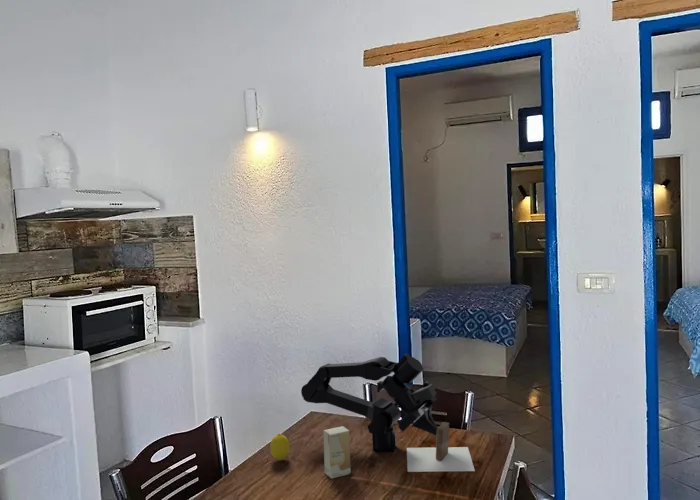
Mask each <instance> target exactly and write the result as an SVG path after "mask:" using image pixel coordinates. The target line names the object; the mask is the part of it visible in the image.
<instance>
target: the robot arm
mask: <svg viewBox="0 0 700 500" xmlns="http://www.w3.org/2000/svg"><path fill="white" fill-rule="evenodd" d="M423 370H424V366H423V365H422V363H421V361H420V360H419V359H416V357H413V356H411V355H409V354H408V353H405V354H404V355H403V356H402V357H401V358H400V360H399V361H397V362H395V361H391V360H388V359H387V357H384V356H380V357H375V358H372V359H368V360H366V361H362V362H346V363H345V362H344V363H326V364H324V365H321V366H320V367H319V368H318V369H317V371H316V372H315V374H313V376H312V377H311V378H310V379H309V380H308V382H307V383H305V384H304V385H303V386H302V387H301V390H300V393H301V396H302V398H303V400H304V401H305V402H307V403H311V404H329V405H331V406H334V407H337V408H341V409H343V410H345V411H348V412H350V413H354V414H357V415H361V416H362V417H366V418H367V419H368V420H369V421H370V423H369V424H368V425H367V430H368V432H369V434H371V438H372V439H371V442H372V449H371V450H372V451H371V453H394V452H395V449H396V448H397V442H396V441H397V440H396V439H397V438H396V432H394V427H395V426H396V424H397V427H398V428H399V430H400V431H401V432H403V433H404V431H405V430H406V429H408V428H409V426H411V427H412V428H417V429H419V430H422V431H425V432H427V433H428V434H429V433H430V434H432V435H434V436H436V437H437V428H438V426H437V423H436V422H435V420H434V417H433V416H432V409H433V406H432V405H433V404H434V403H435V402H436V401H437V399H438V398H437V397H436V396H437V392H436V390H435V389H436V386H435V385H434V384H433V383H432V382H430V381H429V380H428V381H427V380H426V381H425V382H423V383H422V387H421V388H419V389H417V390H416V389H415V387H409V386H408V385H407V384H411V383H412V382H413V381H414V380H415V379H416V378H417V377H418V376H419V375H420V374H421V373H422V372H423ZM391 374H393V375H391ZM384 377H385V378H384ZM333 378H335V379H336V378H339V379H340V378H363V379H364V380H369V381H378V382H377V383H376V384H377V385H376V386H377V387H376V392H377V393H380V392H382V391H383V390H384V391H385V392H386V393H387V394H388V396H389V397H390V398H391V399H392V400H387V399H385V398H383V397H380V398H379V399H377V400H376V401H373V402H372V401H370V400H367V399H364V398H361V397H357V396H355V395H352V394H349V393H345V392H344V391H343V392H342V391H340V390H337V389H335V388H333V387H332V386H331V385H330V383H331V380H332V379H333ZM383 378H384V379H383ZM381 379H383V380H381ZM379 380H380V381H379ZM394 402H395V403H394ZM400 409H401V410H403V412H404V413H405V414H404V415H403V416H402V418H401V415H402V413H401V410H400ZM412 423H413V424H412Z"/></svg>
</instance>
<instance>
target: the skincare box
mask: <svg viewBox="0 0 700 500" xmlns="http://www.w3.org/2000/svg"><path fill="white" fill-rule="evenodd" d="M323 458H324V459H323V460H324V464H323V465H324V474H325V475H326V476H327V477H329V479H335V478H339V477H343V476H347V475H350V474H351V472H352V470H351V466H352V465H351V440H350V430H349V429H348V428H346V427H345V426H343V425H342V426H338V427H332V428H329V429H323Z"/></svg>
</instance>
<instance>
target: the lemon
mask: <svg viewBox="0 0 700 500" xmlns="http://www.w3.org/2000/svg"><path fill="white" fill-rule="evenodd" d="M270 441H271V442H270V454H271V455H272V457H273V458H275V459H277V460H279V462H280V461H282V460H283V459H285V458H286V457H287V456H288V454H289V451H290V442H289V440H288V437H287V436H285V435H284V434H281V433H277V434H276V435H275V436H273V437H272V439H271V440H270Z"/></svg>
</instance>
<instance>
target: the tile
mask: <svg viewBox="0 0 700 500" xmlns="http://www.w3.org/2000/svg"><path fill="white" fill-rule="evenodd" d="M449 432H450V422H447V421H443V422H442V423H441V424H440V425H439V426H437V436H436V440H435V441H436V443H435V447H436V460H439V461H442V460H443V459H444V457H445V456H446V455H447V454H448V447H449V439H450V438H449V436H450V433H449Z"/></svg>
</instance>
